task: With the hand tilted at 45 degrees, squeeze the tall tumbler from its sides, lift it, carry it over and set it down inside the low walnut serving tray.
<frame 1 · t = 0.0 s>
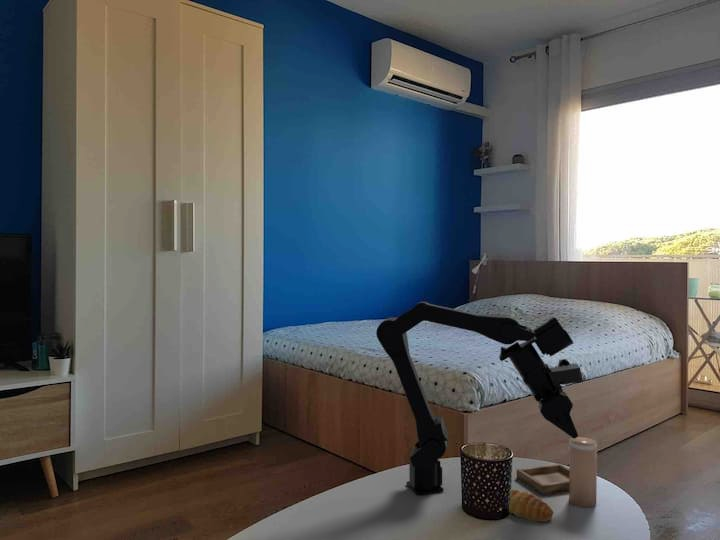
hand: (572, 430, 120), 15 cm above the table, tool tilted 35°, fingers open, 9 cm apart
tumbler: (582, 501, 119), on the table
tray: (551, 482, 129), on the table
pastry: (526, 513, 115), on the table
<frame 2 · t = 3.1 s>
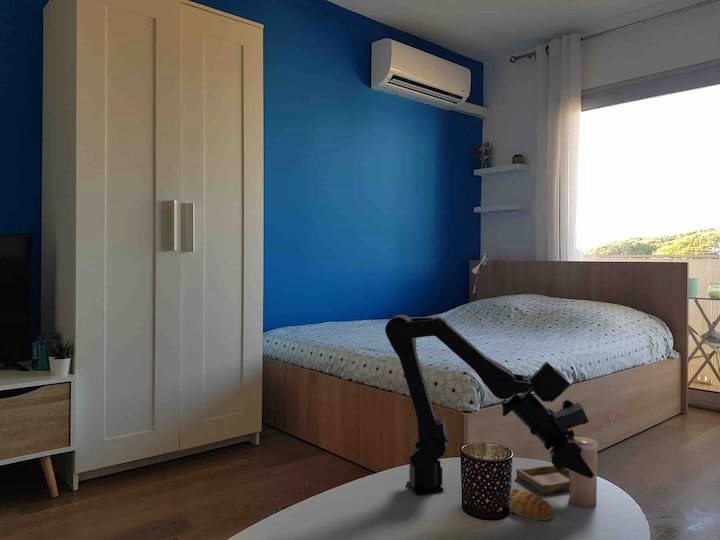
hand: (589, 471, 119), 7 cm above the table, tool tilted 45°, fingers closed on tumbler, 5 cm apart
tumbler: (582, 501, 119), on the table, touching gripper
when the fingers open (8 cm above the table, at t = 6.4 s): tumbler drops 1 cm, resting on tray.
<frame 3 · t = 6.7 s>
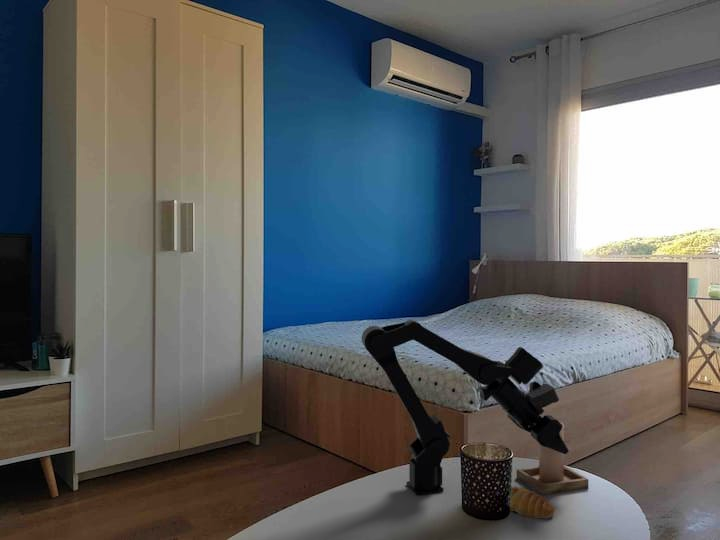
hand: (557, 445, 129), 9 cm above the table, tool tilted 45°, fingers open, 9 cm apart
tumbler: (551, 479, 129), point 1 cm above the table, touching tray
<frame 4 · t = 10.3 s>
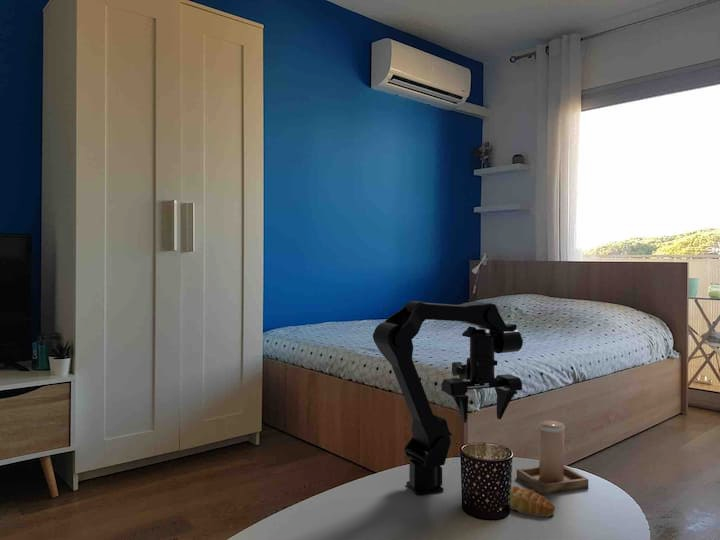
hand: (481, 420, 134), 13 cm above the table, tool pointing down, fingers open, 9 cm apart
at the end: tumbler inside the target area on the tray (0.0 cm from its centre), point 0.7 cm above the tray's base; tumbler tilted 1°; the gripper is holding nothing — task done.
